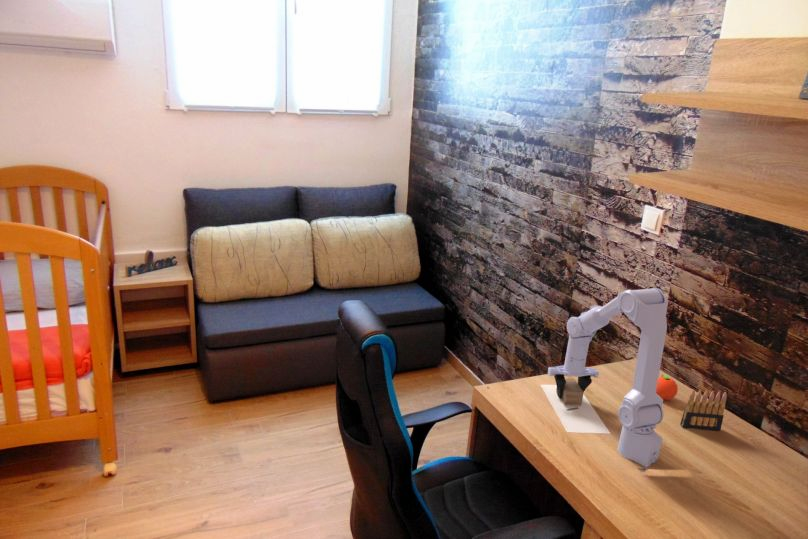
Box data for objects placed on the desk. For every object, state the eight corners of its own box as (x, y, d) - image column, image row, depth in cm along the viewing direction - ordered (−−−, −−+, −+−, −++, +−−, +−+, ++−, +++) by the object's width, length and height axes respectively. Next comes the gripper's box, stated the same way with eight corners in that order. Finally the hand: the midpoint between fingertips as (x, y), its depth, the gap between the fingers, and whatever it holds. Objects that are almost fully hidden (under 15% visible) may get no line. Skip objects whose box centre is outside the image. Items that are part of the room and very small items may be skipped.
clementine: (646, 389, 192) (651, 369, 189) (668, 391, 192) (673, 371, 189) (655, 402, 184) (660, 382, 182) (678, 404, 184) (683, 384, 182)
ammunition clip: (717, 427, 173) (727, 390, 169) (720, 431, 171) (730, 393, 168) (679, 424, 173) (689, 387, 169) (682, 428, 171) (692, 390, 168)
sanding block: (581, 406, 176) (583, 392, 174) (564, 405, 175) (566, 391, 174) (571, 392, 183) (574, 378, 182) (555, 391, 183) (558, 378, 181)
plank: (609, 437, 164) (610, 433, 163) (566, 436, 163) (567, 432, 162) (577, 389, 188) (577, 385, 188) (539, 387, 187) (540, 384, 187)
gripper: (595, 350, 179) (587, 391, 183) (547, 348, 178) (541, 389, 182) (604, 361, 173) (596, 403, 177) (555, 359, 171) (547, 401, 175)
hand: (568, 397), depth 179 cm, fingers closed on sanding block, 5 cm apart
